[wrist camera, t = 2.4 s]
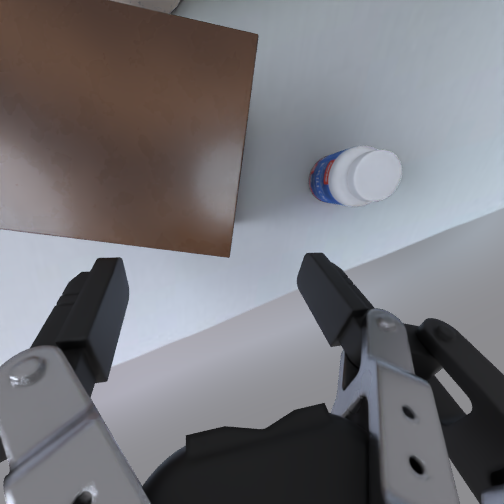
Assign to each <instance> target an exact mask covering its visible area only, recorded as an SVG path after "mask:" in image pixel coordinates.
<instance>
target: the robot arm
mask: <svg viewBox="0 0 504 504" xmlns="http://www.w3.org/2000/svg"><path fill="white" fill-rule="evenodd" d="M297 286H298V289H299V291H300V293H301V294H302V296H303V298H304V300H305V301H306V303H307V305H308V307H309V309H310V310H311V312H312V314H313V316H314V317H315V319H316V321H317V323H318V325H319V327H320V328H321V330H322V332H323V334H324V335H325V337H326V339H327V341H328V343H329V344H330V346H331V347H333V346H340V345H341V346H342V347H343V351H342V353H341V360H340V371H339V380H338V390H337V396H336V400H335V403H334V405H333V408H332V412H331V413H329V412H328V410H327V408H326V405H325V403H322V404H318V405H314V406H309V407H305V408H301V409H297V410H294V411H292V412H291V413H289V414H288V415H286V416H284V417H283V418H281V419H280V420H278V421H277V422H275V423H274V424H272V425H270V426H269V427H267V428H265V429H251V428H238V427H226V426H224V427H220V428H216V429H211V430H207V431H203V432H199V433H194V434H190V435H186V446H184V447H183V448H181V449H179V450H178V451H176V452H175V453H173V454H172V455H171V456H170V457H168V458H167V459H166V460H165V461H164V462H163V463H162V464H161V465H160V466H159V467H158V468H157V469H156V470H155V471H154V472H153V473H152V474H151V476H150V477H149V478H148V479H147V481H146V482H145V484H144V485H143V486H142V485H141V483H140V482H139V480H138V478H137V476H136V475H135V473H134V471H133V470H132V468H131V466H130V464H129V463H128V461H127V459H126V458H125V456H124V454H123V453H122V451H121V449H120V448H119V446H118V444H117V443H116V441H115V439H114V437H113V436H112V434H111V432H110V430H109V429H108V427H107V425H106V424H105V422H104V420H103V419H102V417H101V415H100V413H99V412H98V410H97V408H96V407H95V405H94V403H93V401H92V400H91V394H92V391H93V388H94V384H95V383H99V382H106V381H107V380H108V376H109V372H110V369H111V365H112V361H113V357H114V354H115V350H116V346H117V342H118V338H119V335H120V331H121V327H122V323H123V320H124V316H125V312H126V308H127V304H128V300H129V285H128V281H127V277H126V273H125V268H124V264H123V260H122V258H120V257H119V258H98V259H97V260H96V262H95V264H94V266H93V267H92V269H91V271H90V272H81V273H80V274H78V275H77V276H76V277H75V278H74V279H72V280H71V281H70V282H69V283H68V285H67V287H66V288H65V290H64V292H63V293H62V296H61V297H60V298H59V300H58V302H57V306H55V307H54V308H53V310H52V312H51V314H50V315H49V317H48V319H47V320H46V322H45V324H44V325H43V327H42V329H41V330H40V332H39V334H38V336H37V337H36V339H35V341H34V342H33V344H32V346H31V347H30V349H27V350H25V351H23V352H21V353H19V354H17V355H15V356H13V357H12V358H10V359H9V360H8V361H6V362H5V363H4V364H3V365H2V366H1V367H0V462H2V461H4V460H6V459H8V462H9V466H10V472H9V474H8V475H7V476H6V477H5V478H4V485H3V486H4V494H5V498H6V503H7V504H460V501H459V498H458V494H457V489H456V485H455V481H454V477H453V473H452V469H451V465H450V461H449V458H450V459H451V461H452V463H453V464H454V466H455V467H456V469H457V470H458V471H459V473H460V475H461V476H462V477H463V479H464V481H465V482H466V484H467V485H468V487H469V488H470V490H471V491H472V493H473V494H474V495H475V497H476V498H477V500H478V502H479V503H480V504H504V375H503V374H502V373H501V372H500V371H499V370H498V369H497V368H496V367H495V366H494V365H493V364H492V363H491V362H490V361H489V360H487V359H486V358H485V357H484V356H483V355H482V354H481V353H480V352H479V351H478V350H477V349H476V348H475V347H474V346H473V345H472V344H471V343H470V342H468V341H467V340H466V339H465V338H464V337H463V336H462V335H461V334H460V333H459V332H458V331H457V330H456V329H454V328H453V327H452V326H450V325H449V324H447V323H445V322H443V321H440V320H438V319H433V318H428V319H426V320H425V321H424V322H423V323H422V324H421V325H420V326H414V325H409V324H404V323H402V322H401V321H400V319H398V318H397V317H396V316H395V315H393V314H392V313H390V312H388V311H386V310H383V309H378V308H374V307H373V306H372V304H371V303H370V302H369V301H368V300H367V299H366V297H365V296H364V295H363V294H362V293H361V292H360V290H359V289H358V288H357V287H356V286H355V285H353V282H352V281H351V280H350V279H349V278H348V276H347V275H346V274H345V273H344V272H343V270H342V269H341V268H339V267H338V266H336V265H335V264H333V263H332V262H330V261H329V260H328V258H327V257H326V256H325V255H324V254H323V253H307V254H305V256H304V259H303V261H302V264H301V267H300V270H299V273H298V276H297ZM442 368H444V369H445V370H446V372H447V373H448V374H449V375H450V376H451V377H452V379H453V380H454V381H455V382H456V383H457V384H458V385H459V387H460V388H461V389H462V390H463V391H464V392H465V394H466V395H467V396H468V397H469V399H470V400H471V403H472V411H471V413H469V414H468V415H466V414H465V413H464V412H463V410H462V409H461V408H460V407H459V405H458V404H457V403H456V402H455V401H454V399H453V398H452V397H451V396H450V394H449V393H448V392H447V391H446V389H445V388H444V387H443V386H442V384H441V383H440V382H439V381H438V379H437V378H436V377H435V376H434V375H435V374H436V373H437V372H438V371H440V370H441V369H442Z"/></svg>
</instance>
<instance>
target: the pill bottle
mask: <svg viewBox="0 0 504 504" xmlns="http://www.w3.org/2000/svg"><path fill="white" fill-rule="evenodd" d="M401 177H402V166H401V162H400V160H399V158H398V157H397V156H396V155H395V154H394V153H392V152H391V151H388V150H384V149H379V150H377V149H376V148H373V147H371V146H356V147H352V148H349V149H346V150H343V151H340V152H337V153H334V154H331V155H329V156H326V157H324V158H322V159H320V160H319V161H318V162H317V163H316V164H315V165H314V166H313V168H312V170H311V172H310V176H309V187H310V190H311V192H312V194H313V195H314V196H315V197H316V198H317V199H319V200H320V201H323V202H327V203H333V204H338V205H344V206H350V207H361V206H365V205H367V204H369V203H371V202H377V201H381V200H384V199H386V198H388V197H389V196H390V195H392V194H393V193H394V192H395V190H396V189H397V187H398V186H399V183H400V181H401Z"/></svg>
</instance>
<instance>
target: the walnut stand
mask: <svg viewBox="0 0 504 504" xmlns="http://www.w3.org/2000/svg"><path fill="white" fill-rule="evenodd" d="M257 44H258V34H255V33H250V32H246V31H241V30H237V29H233V28H228V27H224V26H220V25H215V24H211V23H207V22H202V21H198V20H193V19H189V18H185V17H180V16H176V15H172V14H167V13H163V12H159V11H154V10H150V9H146V8H141V7H137V6H132V5H128V4H124V3H119V2H115V1H111V0H0V229H4V230H12V231H20V232H28V233H36V234H44V235H52V236H60V237H68V238H76V239H84V240H92V241H100V242H108V243H116V244H124V245H132V246H140V247H148V248H156V249H164V250H172V251H180V252H188V253H196V254H204V255H212V256H220V257H228V258H229V257H230V251H231V243H232V235H233V228H234V220H235V212H236V205H237V197H238V189H239V182H240V174H241V166H242V159H243V151H244V143H245V136H246V128H247V121H248V113H249V105H250V98H251V90H252V82H253V75H254V67H255V59H256V52H257Z"/></svg>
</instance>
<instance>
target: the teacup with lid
mask: <svg viewBox="0 0 504 504" xmlns="http://www.w3.org/2000/svg"><path fill="white" fill-rule="evenodd" d="M111 1H115V2H119V3H124V4H128V5H132V6H137V7H141V8H146V9H150V10H154V11H159V12H163V13H167V14H170V13H171V12H172V11H173V10H174V9H175V8H176V6H177V5H178V4H179V2H180V0H111Z"/></svg>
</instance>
